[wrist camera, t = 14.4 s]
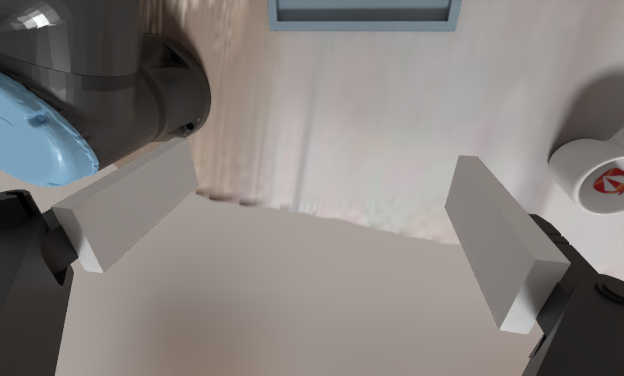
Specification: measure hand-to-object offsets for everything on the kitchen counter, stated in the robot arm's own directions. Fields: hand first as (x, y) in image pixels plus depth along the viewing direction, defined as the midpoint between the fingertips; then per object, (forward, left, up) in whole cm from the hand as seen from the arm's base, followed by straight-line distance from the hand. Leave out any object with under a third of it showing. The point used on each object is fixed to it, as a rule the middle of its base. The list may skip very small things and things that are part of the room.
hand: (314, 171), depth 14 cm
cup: (+32, -8, -29) cm, 44 cm away
